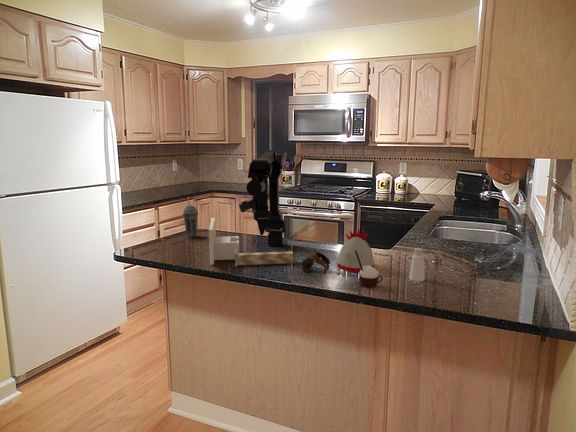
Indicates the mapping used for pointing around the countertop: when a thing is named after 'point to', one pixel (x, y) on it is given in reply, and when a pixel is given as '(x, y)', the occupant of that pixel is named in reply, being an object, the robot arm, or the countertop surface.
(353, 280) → the countertop surface
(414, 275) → the pepper shaker
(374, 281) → the cocoa
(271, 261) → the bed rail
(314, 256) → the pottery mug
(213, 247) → the white angular piece
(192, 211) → the beverage cup
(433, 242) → the countertop surface
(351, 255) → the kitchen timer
